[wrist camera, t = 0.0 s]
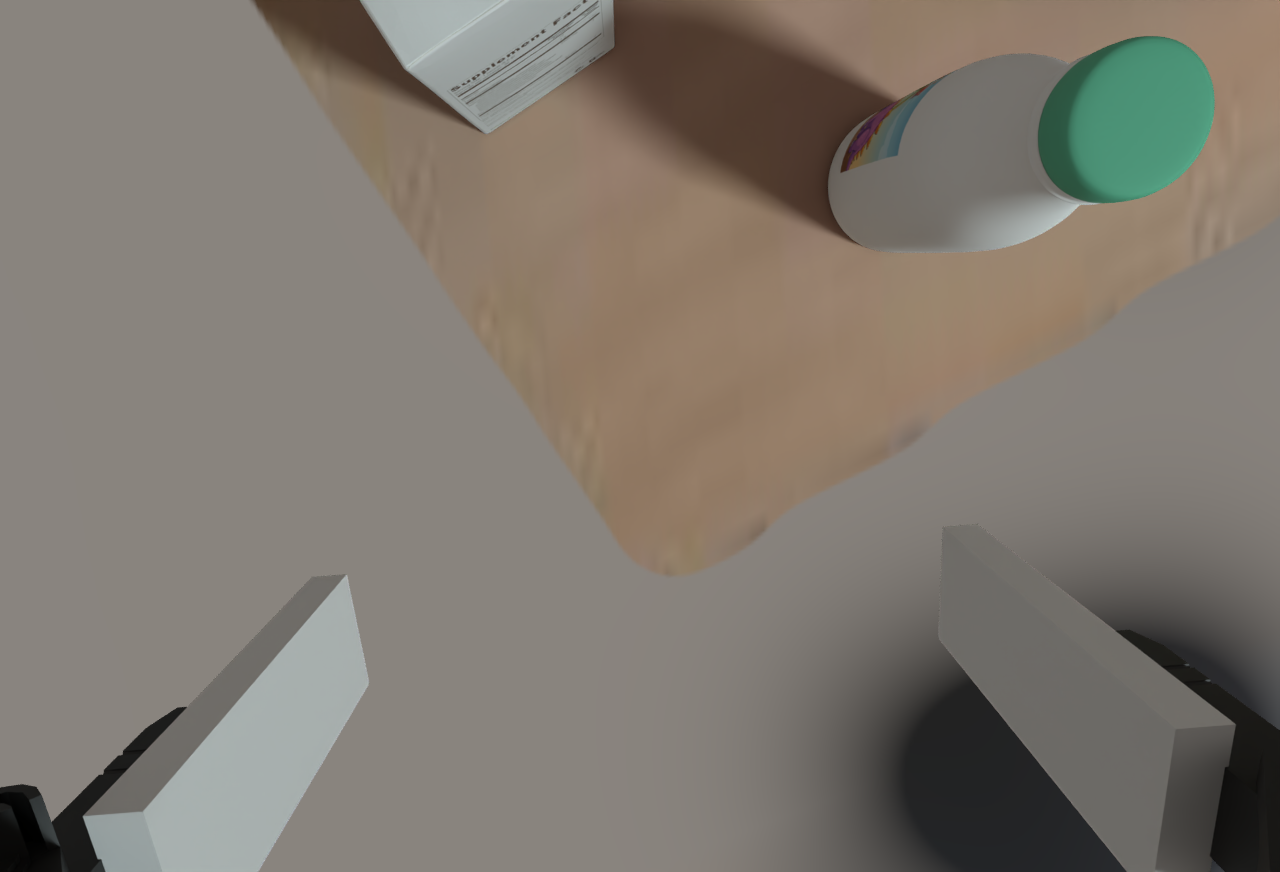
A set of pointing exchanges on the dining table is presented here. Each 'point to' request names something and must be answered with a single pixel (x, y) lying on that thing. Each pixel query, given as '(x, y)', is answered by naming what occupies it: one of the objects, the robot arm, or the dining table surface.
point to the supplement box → (494, 48)
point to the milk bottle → (1020, 146)
